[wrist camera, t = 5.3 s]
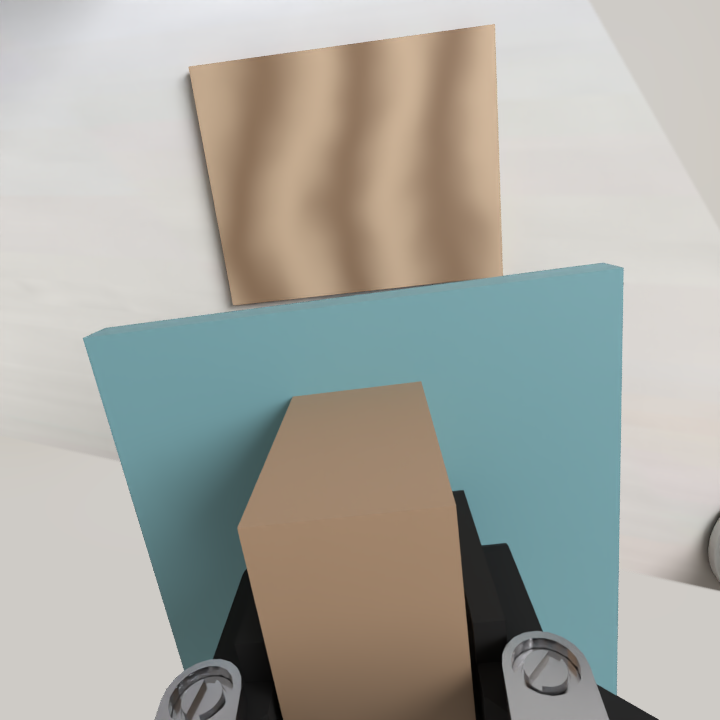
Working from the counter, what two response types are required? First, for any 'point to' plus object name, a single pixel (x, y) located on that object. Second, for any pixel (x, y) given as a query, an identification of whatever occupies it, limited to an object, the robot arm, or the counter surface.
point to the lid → (378, 476)
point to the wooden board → (355, 165)
